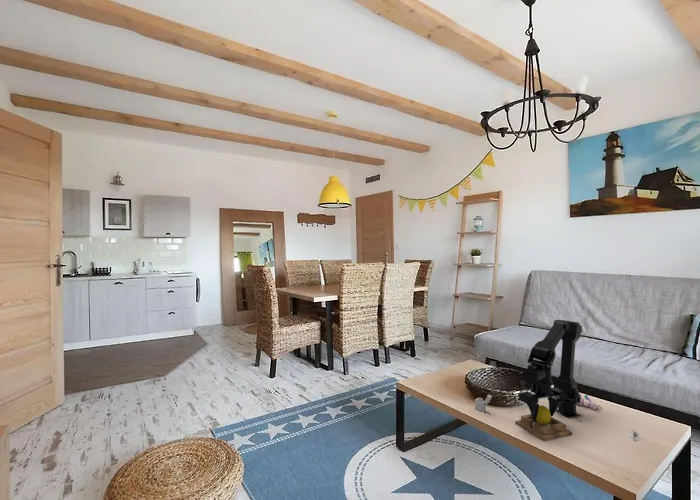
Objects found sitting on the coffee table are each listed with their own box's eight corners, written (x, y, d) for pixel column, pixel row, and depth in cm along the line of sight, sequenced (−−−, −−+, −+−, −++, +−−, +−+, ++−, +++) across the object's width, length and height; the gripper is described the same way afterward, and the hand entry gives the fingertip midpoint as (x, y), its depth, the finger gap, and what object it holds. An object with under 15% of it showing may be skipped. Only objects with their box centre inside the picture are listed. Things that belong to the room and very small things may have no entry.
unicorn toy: (602, 412, 159) (566, 395, 170) (605, 399, 158) (568, 384, 170) (597, 416, 155) (560, 399, 166) (600, 403, 154) (562, 387, 166)
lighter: (474, 409, 158) (474, 391, 158) (476, 408, 159) (476, 390, 159) (490, 414, 153) (490, 396, 153) (492, 413, 154) (492, 395, 154)
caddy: (542, 418, 150) (542, 410, 150) (572, 434, 137) (572, 425, 136) (515, 423, 145) (515, 414, 145) (543, 441, 132) (543, 431, 132)
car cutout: (645, 445, 130) (645, 433, 130) (622, 439, 134) (622, 427, 134) (645, 429, 142) (645, 418, 142) (624, 424, 146) (624, 413, 146)
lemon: (550, 430, 137) (550, 409, 137) (534, 427, 140) (534, 406, 140) (551, 424, 142) (551, 404, 142) (535, 421, 145) (535, 401, 145)
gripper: (544, 368, 151) (544, 405, 152) (508, 373, 146) (508, 412, 146) (567, 378, 141) (567, 417, 141) (530, 383, 135) (530, 424, 135)
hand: (542, 417), depth 141 cm, fingers open, 8 cm apart
